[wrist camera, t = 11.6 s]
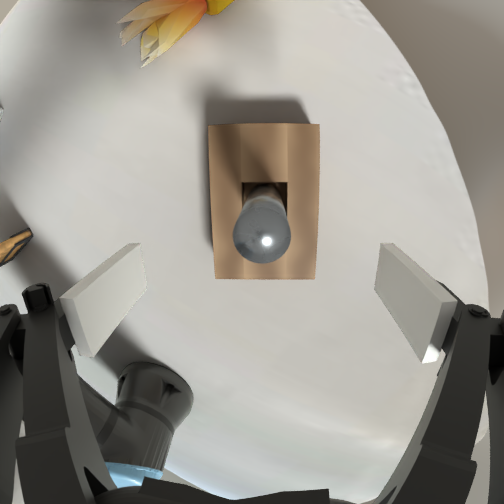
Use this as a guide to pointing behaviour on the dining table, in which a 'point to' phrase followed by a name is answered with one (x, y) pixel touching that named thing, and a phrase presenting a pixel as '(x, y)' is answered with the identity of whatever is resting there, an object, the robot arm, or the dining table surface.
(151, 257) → the dining table surface
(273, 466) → the dining table surface
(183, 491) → the robot arm
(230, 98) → the dining table surface
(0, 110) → the light bulb box
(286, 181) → the bore block
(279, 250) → the pin
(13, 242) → the ammunition clip
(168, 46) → the torch
